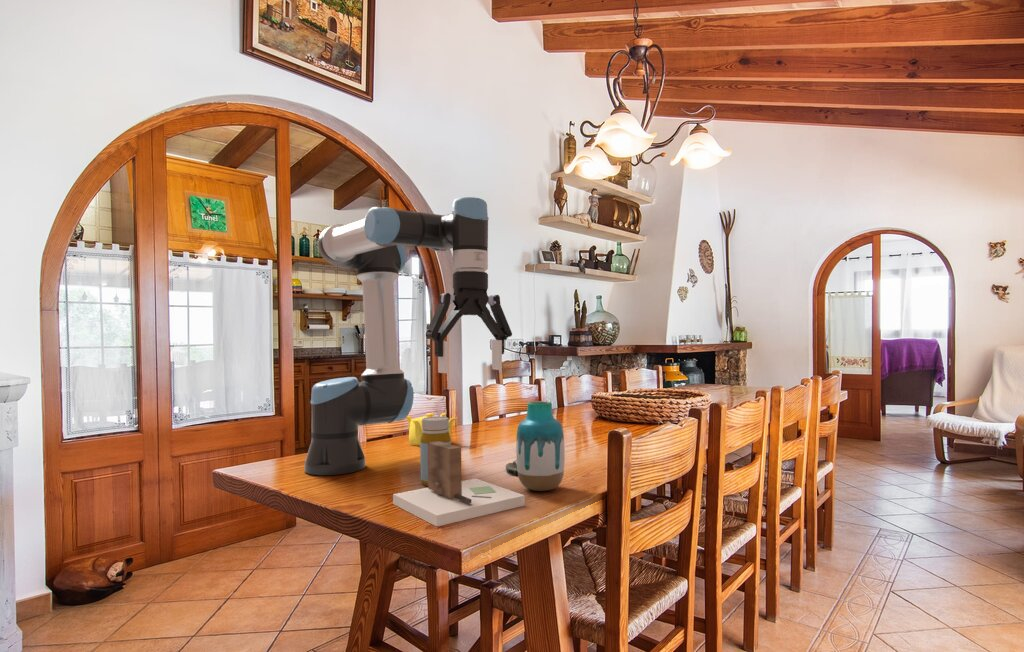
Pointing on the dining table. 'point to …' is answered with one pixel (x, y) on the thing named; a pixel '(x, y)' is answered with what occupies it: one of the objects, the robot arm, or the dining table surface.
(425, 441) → the bottle
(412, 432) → the teapot
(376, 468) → the dining table surface
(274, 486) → the dining table surface
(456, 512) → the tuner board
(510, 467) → the log
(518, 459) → the vase
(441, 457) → the brown wooden block
